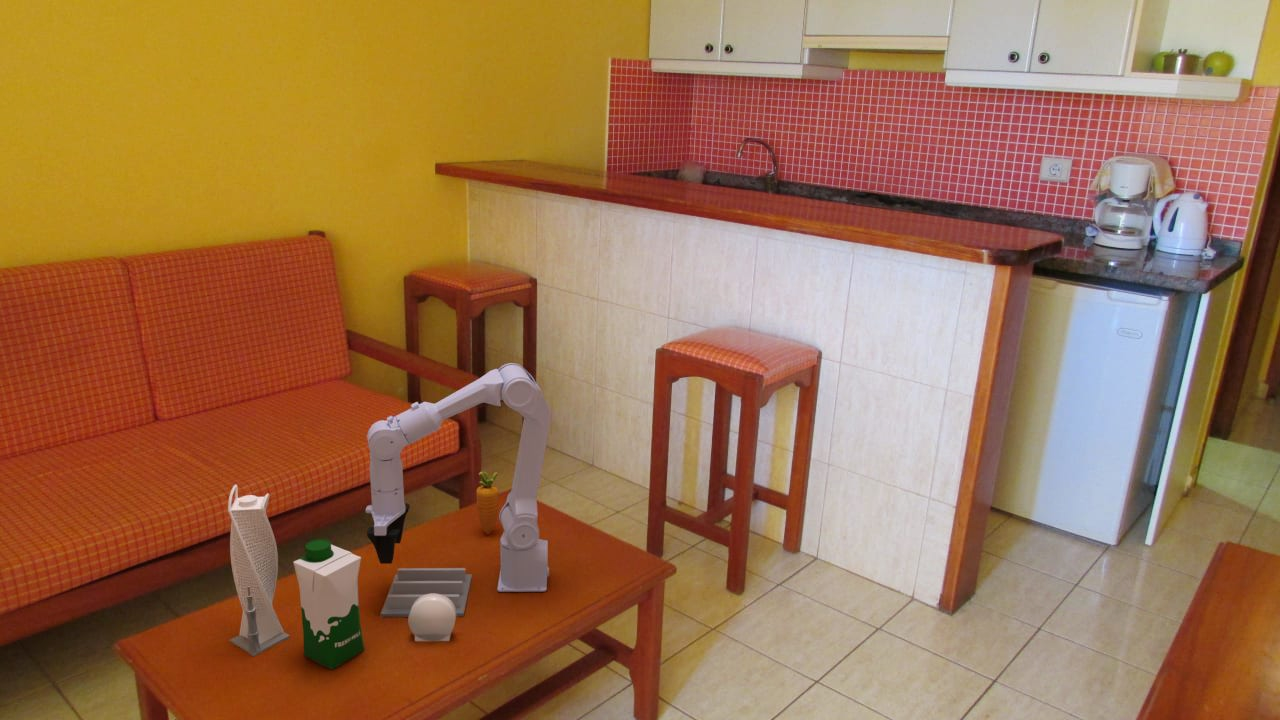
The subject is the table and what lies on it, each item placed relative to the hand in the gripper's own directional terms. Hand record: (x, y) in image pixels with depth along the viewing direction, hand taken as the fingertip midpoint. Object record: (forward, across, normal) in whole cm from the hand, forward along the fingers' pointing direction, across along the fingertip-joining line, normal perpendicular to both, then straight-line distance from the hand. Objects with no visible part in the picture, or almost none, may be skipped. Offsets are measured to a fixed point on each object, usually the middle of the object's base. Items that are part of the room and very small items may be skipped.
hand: (390, 552), depth 167 cm
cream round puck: (+10, +13, +10) cm, 19 cm away
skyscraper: (+10, +12, -20) cm, 26 cm away
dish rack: (+10, -1, +6) cm, 12 cm away
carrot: (+10, -26, +15) cm, 32 cm away
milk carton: (+10, +17, -6) cm, 21 cm away
